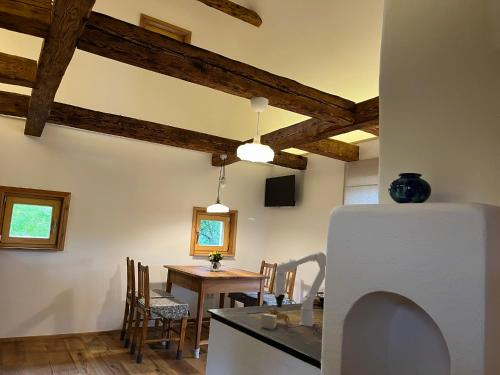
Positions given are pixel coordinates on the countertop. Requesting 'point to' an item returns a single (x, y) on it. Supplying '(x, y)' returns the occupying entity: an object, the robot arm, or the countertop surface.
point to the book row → (268, 321)
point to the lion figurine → (279, 315)
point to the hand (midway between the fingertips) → (279, 307)
